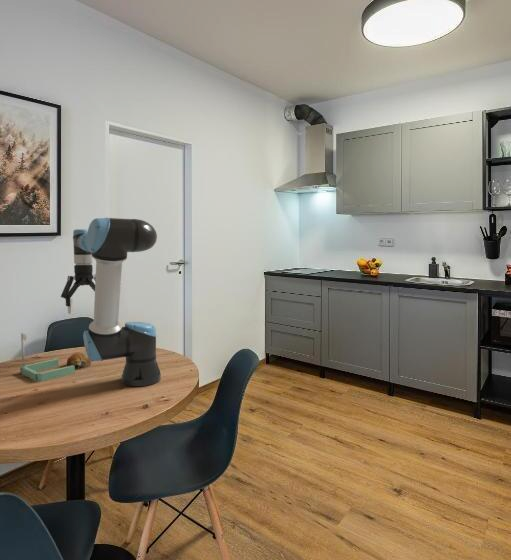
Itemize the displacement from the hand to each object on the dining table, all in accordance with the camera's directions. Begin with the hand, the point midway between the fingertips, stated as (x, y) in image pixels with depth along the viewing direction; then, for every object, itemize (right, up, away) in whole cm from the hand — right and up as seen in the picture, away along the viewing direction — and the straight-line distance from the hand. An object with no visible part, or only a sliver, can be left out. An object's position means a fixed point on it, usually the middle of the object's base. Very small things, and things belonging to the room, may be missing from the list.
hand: (84, 311), depth 186 cm
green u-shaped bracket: (-9, -24, -13) cm, 29 cm away
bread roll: (-1, -24, -3) cm, 24 cm away
